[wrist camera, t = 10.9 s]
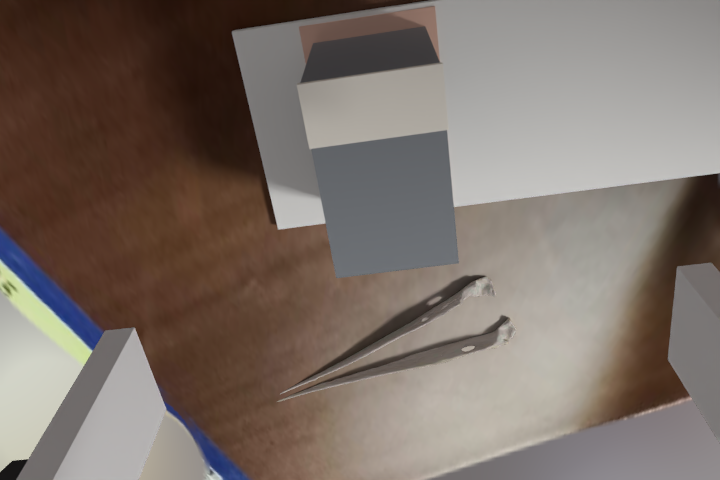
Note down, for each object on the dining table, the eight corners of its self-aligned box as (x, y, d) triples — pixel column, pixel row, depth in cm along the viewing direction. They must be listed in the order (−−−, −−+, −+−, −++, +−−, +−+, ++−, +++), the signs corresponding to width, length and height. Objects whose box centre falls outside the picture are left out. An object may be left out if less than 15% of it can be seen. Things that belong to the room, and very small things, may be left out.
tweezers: (485, 264, 36) (489, 286, 34) (518, 325, 38) (523, 348, 36) (227, 368, 41) (219, 391, 39) (267, 416, 43) (262, 440, 41)
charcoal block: (442, 190, 32) (460, 264, 26) (340, 204, 33) (334, 279, 26) (425, 23, 28) (442, 63, 22) (311, 41, 29) (296, 85, 23)
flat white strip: (765, -52, 27) (771, -50, 27) (734, 167, 32) (739, 171, 32) (233, 30, 29) (231, 32, 29) (279, 225, 34) (277, 230, 33)
